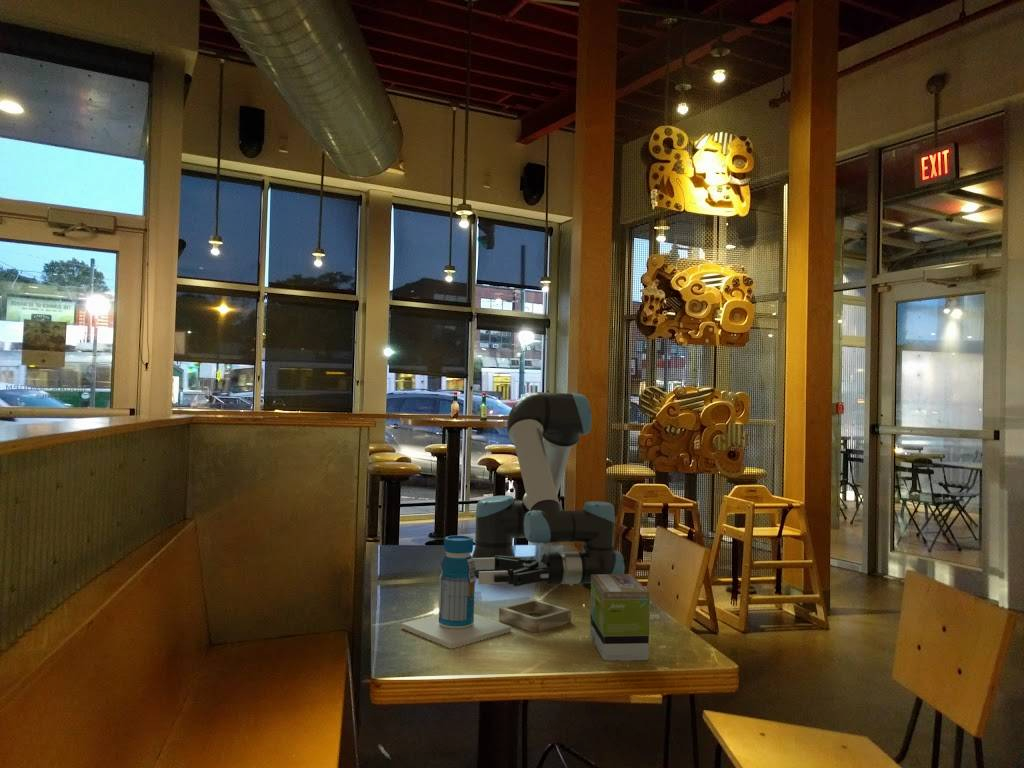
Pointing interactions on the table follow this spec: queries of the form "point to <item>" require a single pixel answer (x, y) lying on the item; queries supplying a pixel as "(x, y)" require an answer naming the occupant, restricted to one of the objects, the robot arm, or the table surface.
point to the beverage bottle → (457, 583)
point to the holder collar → (519, 617)
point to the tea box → (619, 617)
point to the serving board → (455, 631)
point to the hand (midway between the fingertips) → (473, 570)
